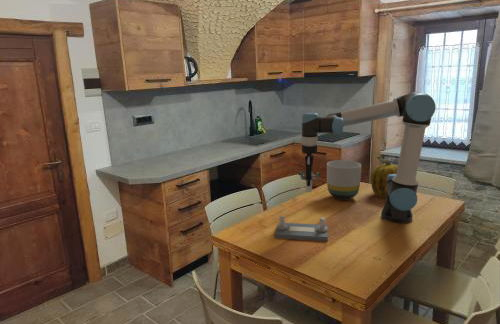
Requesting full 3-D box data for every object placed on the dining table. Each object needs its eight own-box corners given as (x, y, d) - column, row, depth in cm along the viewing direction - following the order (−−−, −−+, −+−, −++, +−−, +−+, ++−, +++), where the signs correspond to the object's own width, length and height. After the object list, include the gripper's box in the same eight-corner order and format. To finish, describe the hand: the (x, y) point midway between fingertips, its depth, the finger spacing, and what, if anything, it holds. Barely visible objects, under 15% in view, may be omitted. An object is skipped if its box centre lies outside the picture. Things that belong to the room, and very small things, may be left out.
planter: (363, 203, 218) (365, 167, 213) (329, 204, 219) (330, 168, 213) (354, 193, 237) (356, 159, 232) (323, 193, 237) (324, 160, 232)
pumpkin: (365, 192, 238) (367, 153, 232) (394, 190, 239) (397, 152, 234) (378, 202, 219) (380, 160, 214) (409, 200, 221) (412, 158, 215)
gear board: (327, 228, 186) (327, 213, 184) (327, 241, 172) (328, 224, 171) (278, 226, 190) (278, 211, 188) (275, 238, 177) (274, 222, 175)
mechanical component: (319, 192, 189) (319, 173, 186) (298, 191, 191) (298, 172, 189) (319, 190, 191) (319, 171, 189) (299, 189, 194) (299, 170, 191)
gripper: (303, 141, 194) (302, 185, 200) (300, 147, 179) (299, 195, 184) (318, 141, 192) (317, 186, 198) (316, 148, 177) (315, 196, 183)
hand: (308, 190), depth 191 cm, fingers closed on mechanical component, 3 cm apart
